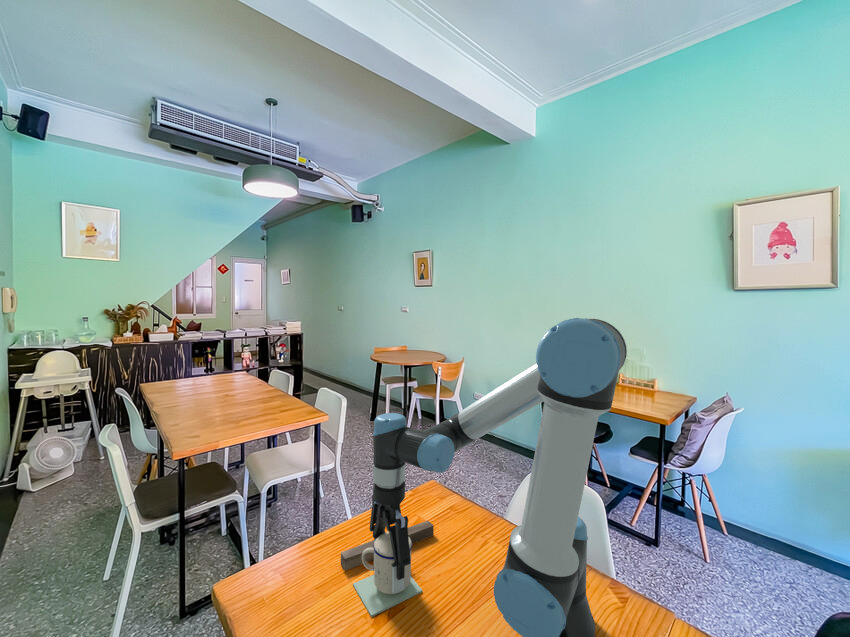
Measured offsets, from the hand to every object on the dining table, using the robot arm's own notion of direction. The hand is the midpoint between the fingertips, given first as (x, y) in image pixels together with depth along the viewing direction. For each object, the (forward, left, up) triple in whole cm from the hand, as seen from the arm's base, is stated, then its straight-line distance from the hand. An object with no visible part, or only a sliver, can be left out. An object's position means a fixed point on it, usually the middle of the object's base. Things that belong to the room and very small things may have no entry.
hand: (388, 576), depth 83 cm
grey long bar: (+10, -7, -3) cm, 13 cm away
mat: (0, 0, -3) cm, 3 cm away
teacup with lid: (+1, 0, -2) cm, 2 cm away
